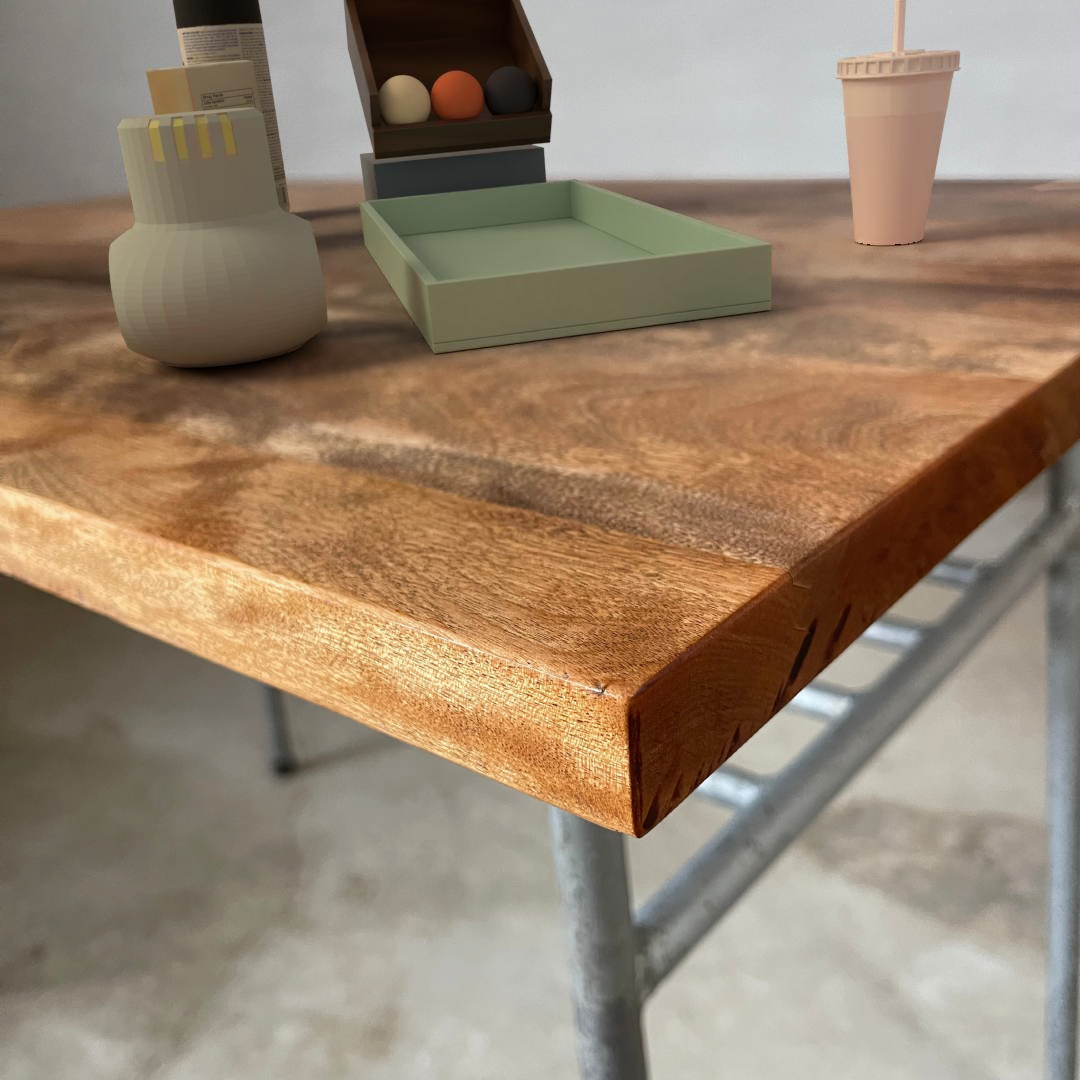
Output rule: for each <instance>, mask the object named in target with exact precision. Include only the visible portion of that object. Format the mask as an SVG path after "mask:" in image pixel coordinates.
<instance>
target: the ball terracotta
mask: <svg viewBox="0 0 1080 1080" xmlns="http://www.w3.org/2000/svg"><path fill="white" fill-rule="evenodd" d="M483 104H484V96H483V91H482V88H481V86H480V84H479V83H478V81H477V80H476V79H475V78H474V77H473V76H471V75H470V74H468V73H466V72H463V71H450V72H447V73H445V74H443V75H442V76H441V77H439V78H438V80H437V81H436V82H435V84H434V86H433V88H432V91H431V105H432V109H433V111H434V113H435V115H436V116H437V118H438V119H439V120H448V119H459V118H470V117H479V115H480V114H481V112H482V109H483Z"/></svg>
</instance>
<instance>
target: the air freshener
mask: <svg viewBox="0 0 1080 1080" xmlns="http://www.w3.org/2000/svg"><path fill="white" fill-rule="evenodd" d="M116 130H117V135H118V141H119V145H120V150H121V151H120V152H121V156H122V160H123V165H124V170H125V175H126V179H127V180H126V181H127V184H128V190H129V194H130V200H131V204H132V209H133V214H134V219H135V221H134V224H133V226H132V227H130V228H129V229H128V230H126V231H125V232H124V233H122V234H121V235H119V237H117V238H116V239H114V241H112V242H111V243H110V245H109V248H108V249H109V250H108V271H109V281H110V289H111V296H112V300H113V305H114V311H115V314H116V319H117V323H118V327H119V330H120V334H121V335H122V339H123V341H124V343H125V345H126V347H127V349H129V350H130V351H131V352H134V353H136V354H137V355H140V356H143V357H144V358H145V357H146V358H148V359H151V360H153V361H158V362H160V363H162V364H163V365H166V366H169V367H174V368H175V367H176V368H210V367H222V366H223V367H224V366H231V365H239V364H244V363H252V362H256V361H257V362H258V361H263V360H267V359H272V358H277V357H279V356H282V355H287V354H289V353H293V352H294V351H297V350H298V349H300V348H301V347H303V346H304V344H305V343H306V342H307V341H309V340H311V339H312V338H313V337H314V336H316V335H317V334H318V333H320V332H321V331H323V329H324V328H326V327H327V325H328V308H327V306H328V305H327V299H326V291H325V284H324V277H323V272H322V265H321V260H320V256H319V251H318V247H317V243H316V238H315V235H314V231H313V228H312V225H311V222H310V221H308V220H307V219H305V218H303V217H301V216H299V215H296V214H294V213H291V212H289V213H288V212H285V211H283V210H282V209H281V208H280V206H279V203H278V198H277V192H276V186H275V180H274V174H273V168H272V163H271V157H270V151H269V145H268V139H267V133H266V128H265V122H264V116H263V114H262V113H261V112H259V111H258V110H257V109H256V108H233V109H219V110H206V111H194V112H182V113H172V114H161V115H155V114H154V115H153V114H151V115H143V116H135V117H127V118H122V119H121V121H120V122H119V124H118V125H117V127H116Z"/></svg>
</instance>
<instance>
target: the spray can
mask: <svg viewBox="0 0 1080 1080" xmlns="http://www.w3.org/2000/svg"><path fill="white" fill-rule="evenodd" d="M172 6H173V7H172V8H173V12H174V19H175V24H176V31H177V37H178V43H179V49H180V53H181V60H182V66H186V65H195V64H205V63H215V62H228V61H241V60H249V61H253V63H254V69H255V75H256V81H257V86H258V92H259V97H260V103H261V108H262V114H263V116H264V122H265V128H266V133H267V139H268V145H269V151H270V157H271V163H272V168H273V174H274V180H275V186H276V192H277V198H278V203H279V206H280V208H281V209H282V210H283V211H285V212H288V213H291V212H290V211H291V205H290V204H291V203H290V197H289V191H288V185H287V177H286V170H285V165H284V158H283V151H282V143H281V137H280V130H279V125H278V124H279V123H278V118H277V111H276V105H275V97H274V92H273V86H272V78H271V72H270V70H271V69H270V65H269V64H270V63H269V58H268V52H267V44H266V38H265V31H264V27H263V19H262V12H261V6H260V0H172Z"/></svg>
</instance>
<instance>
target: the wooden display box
mask: <svg viewBox="0 0 1080 1080" xmlns="http://www.w3.org/2000/svg"><path fill="white" fill-rule="evenodd" d="M343 9H344V20H345V31H346V32H345V33H346V42H347V43H346V44H347V51H348V55H349V60H350V64H351V67H352V71H353V75H354V79H355V83H356V87H357V91H358V95H359V100H360V103H361V108H362V111H363V115H364V120H365V125H366V128H367V132H368V136H369V141H370V145H371V149H372V153H374V157H375V160H377V159H387V158H398V157H408V156H418V155H429V154H439V153H449V152H460V151H470V150H480V149H491V148H501V147H511V146H521V145H541V144H549V143H551V137H552V126H553V113H552V110H551V104H552V92H553V76H552V74H551V72H550V70H549V66H548V64H547V62H546V60H545V57H544V55H543V53H542V51H541V48H540V45H539V43H538V41H537V38H536V36H535V34H534V31H533V28H532V26H531V24H530V21H529V19H528V17H527V14H526V11H525V9H524V6H523V5H522V2H521V0H343ZM507 66H514V67H518V68H520V69H522V70H524V71H525V72H527V73H528V74H529V75H530V77H531V78H532V80H533V81H534V84H535V87H536V92H537V98H536V103H535V106H534V108H533V110H532V111H531V112H525V113H514V114H503V115H492V114H491V113H490V112H489V110H488V108H487V106H486V103H485V99H484V104H483V109H482V112H481V114H480V115H479V117H470V118H459V119H448V120H439V119H438V118H437V116H436V115H435V113H434V111H433V109H432V105H431V110H430V114H429V117H428V119H427V121H426V122H416V123H405V124H394V125H386V124H385V123H384V122H383V120H382V119H381V117H380V108H379V94H378V93H379V91H380V89H381V87H382V86H383V84H384V83H385V82H386V81H387V80H389V79H390V78H392V77H395V76H399V75H406V76H411V77H413V78H416V79H417V80H419V81H420V82H421V83H422V84H423V85H424V86H425V88H426V89H427V91H428V93H429V96H430V100H431V91H432V88H433V86H434V84H435V82H436V81H437V80H438V78H439V77H441V76H442V75H443V74H445V73H447V72H450V71H463V72H466V73H468V74H470V75H471V76H473V77H474V78H475V79H476V80H477V81H478V83H479V84H480V86H481V88H482V91H483V96H484V89H485V85H486V82H487V80H488V79H489V77H490V76H491V75H492V74H493V73H494V72H495V71H496V70H498V69H500V68H502V67H507Z"/></svg>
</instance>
